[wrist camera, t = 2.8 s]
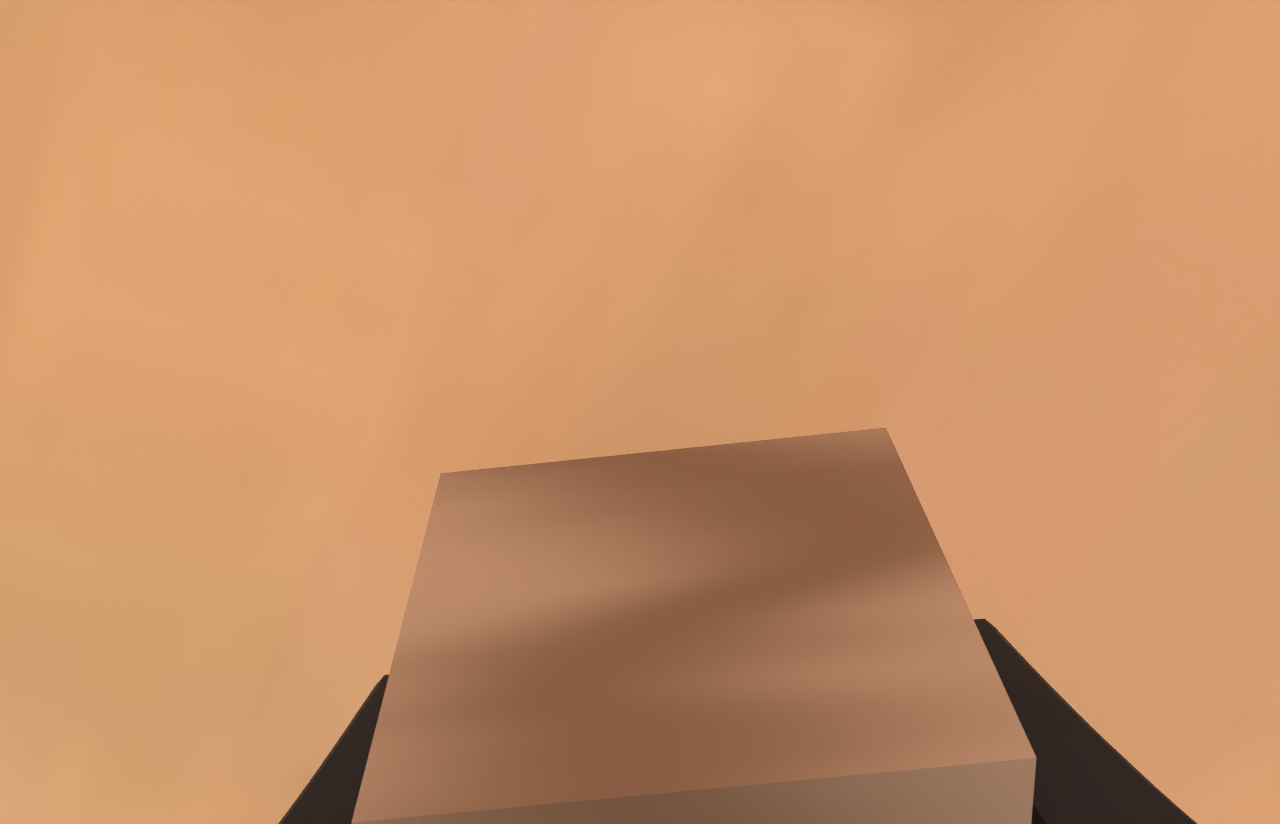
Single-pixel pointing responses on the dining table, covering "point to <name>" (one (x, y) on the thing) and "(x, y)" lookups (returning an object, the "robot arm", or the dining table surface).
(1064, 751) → the robot arm
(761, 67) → the dining table surface
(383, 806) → the walnut block
